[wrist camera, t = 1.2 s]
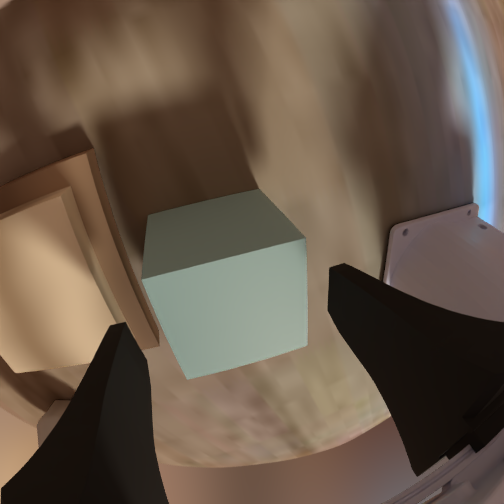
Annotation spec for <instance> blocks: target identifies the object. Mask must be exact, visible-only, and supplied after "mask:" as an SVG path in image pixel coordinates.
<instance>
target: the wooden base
mask: <svg viewBox="0 0 504 504" xmlns="http://www.w3.org/2000/svg"><path fill="white" fill-rule="evenodd" d="M122 322H126V323H127V325H128V327H129V329H130V331H131V333H132V335H133V336H134V338H135V340H136V342H137V344H138V345H139V347H140V349H141V350H144V349H149V348H153V347H158V346H159V330H158V328H157V326H156V323H155V321H154V319H153V317H152V315H151V312H150V310H149V308H148V305H147V303H146V301H145V299H144V296H143V294H142V291H141V289H140V287H139V284H138V282H137V279H136V277H135V274H134V272H133V269H132V267H131V264H130V261H129V259H128V256H127V253H126V251H125V248H124V245H123V243H122V240H121V237H120V234H119V231H118V228H117V225H116V222H115V219H114V216H113V213H112V210H111V207H110V204H109V201H108V198H107V194H106V191H105V188H104V184H103V181H102V177H101V174H100V170H99V167H98V163H97V159H96V155H95V151H94V148H92V149H89V150H86V151H83V152H80V153H78V154H75V155H72V156H69V157H67V158H64V159H62V160H59V161H56V162H54V163H51V164H49V165H47V166H44V167H42V168H39V169H37V170H35V171H32V172H30V173H28V174H26V175H23V176H21V177H19V178H17V179H15V180H13V181H11V182H8V183H6V184H4V185H2V186H0V355H1V356H2V358H3V359H4V360H5V361H6V363H7V364H8V365H9V366H10V367H11V369H12V370H13V371H14V372H15V373H22V372H31V371H39V370H47V369H54V368H61V367H68V366H74V365H80V364H87V363H91V361H92V359H93V357H94V355H95V353H96V351H97V349H98V347H99V345H100V343H101V341H102V339H103V337H104V335H105V333H106V331H107V330H108V328H109V326H110V325H113V324H118V323H122Z"/></svg>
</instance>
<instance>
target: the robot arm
mask: <svg viewBox="0 0 504 504" xmlns="http://www.w3.org/2000/svg"><path fill="white" fill-rule="evenodd" d="M478 211H479V206H478V205H477V204H476V203H472V204H468V205H465V206H461V207H458V208H454V209H451V210H447V211H443V212H440V213H436V214H433V215H429V216H425V217H422V218H418V219H414V220H411V221H407V222H403V223H400V224H396V225H394V226H393V227H392V229H391V231H390V237H389V245H388V252H387V259H386V266H385V273H384V279H383V282H382V281H380V280H378V279H376V278H374V277H372V276H370V275H368V274H366V273H364V272H362V271H360V270H358V269H356V268H354V267H352V266H350V265H347V264H345V263H343V264H339V265H336V266H333V267H330V268H329V291H328V312H329V314H330V316H331V318H332V320H333V322H334V324H335V325H336V327H337V329H338V331H339V333H340V334H341V335H342V337H343V338H344V340H345V341H346V343H347V344H348V345H349V347H350V348H351V350H352V351H353V352H354V354H355V355H356V357H357V358H358V359H359V361H360V362H361V364H362V365H363V366H364V368H365V369H366V371H367V372H368V373H369V375H370V376H371V378H372V380H373V381H374V383H375V384H376V386H377V388H378V390H379V392H380V394H381V396H382V397H383V399H384V401H385V403H386V405H387V407H388V409H389V411H390V414H391V416H392V418H393V420H394V422H395V424H396V427H397V429H398V431H399V434H400V436H401V438H402V441H403V444H404V446H405V449H406V452H407V455H408V458H409V461H410V464H411V467H412V470H413V471H414V473H415V474H416V476H420V475H421V474H423V473H424V472H426V471H427V470H428V469H430V468H431V467H433V466H434V465H436V464H437V463H439V462H440V461H441V460H443V459H444V458H445V457H447V458H448V459H449V461H448V462H446V463H445V464H444V465H442V466H441V467H439V468H438V469H437V470H435V471H434V472H432V473H431V474H430V475H428V476H427V477H425V478H424V479H422V480H421V481H419V482H418V483H416V484H414V485H413V486H411V487H410V488H408V489H406V490H405V491H403V492H401V493H400V494H398V495H396V496H395V497H393V498H391V499H390V500H388V501H386V502H384V503H382V504H417V503H419V502H420V501H422V500H423V499H425V498H426V497H428V496H429V495H431V494H432V493H434V492H435V491H436V490H438V489H439V488H440V487H442V486H443V487H442V492H441V493H440V494H438V495H436V496H434V497H433V498H431V499H429V500H427V501H426V502H424V503H423V504H504V233H502V232H501V231H499V230H498V229H496V228H495V227H493V226H492V225H490V224H488V223H487V222H485V221H484V220H482V219H480V218H479V217H477V216H478ZM1 504H169V502H168V500H167V496H166V493H165V489H164V486H163V482H162V479H161V475H160V471H159V466H158V462H157V457H156V453H155V446H154V437H153V422H152V402H151V384H150V377H149V370H148V364H147V359H146V358H145V356H144V354H143V352H142V351H141V349H140V347H139V345H138V344H137V342H136V340H135V338H134V336H133V335H132V333H131V331H130V329H129V327H128V325H127V323H126V322H122V323H118V324H113V325H110V326H109V328H108V330H107V331H106V333H105V335H104V337H103V339H102V341H101V343H100V345H99V347H98V349H97V351H96V353H95V355H94V357H93V359H92V361H91V363H90V365H89V367H88V369H87V371H86V373H85V375H84V377H83V379H82V381H81V383H80V385H79V386H78V388H77V390H76V392H75V394H74V396H73V398H72V399H71V401H70V403H69V405H68V406H67V408H66V410H65V411H64V413H63V414H62V416H61V418H60V419H59V421H58V422H57V424H56V425H55V427H54V428H53V429H52V431H51V432H50V434H49V435H48V436H47V438H46V439H45V440H44V442H43V443H42V445H41V446H40V447H39V449H38V450H37V451H36V452H35V453H34V455H33V456H32V457H31V458H30V459H29V461H28V462H27V463H26V464H25V465H24V467H22V468H21V470H19V472H18V473H16V474H15V476H13V477H12V478H11V479H10V480H9V481H8V482H7V483H6V484H5V485H4V486H3V487H2V488H1Z"/></svg>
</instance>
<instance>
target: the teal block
mask: <svg viewBox="0 0 504 504" xmlns="http://www.w3.org/2000/svg"><path fill="white" fill-rule="evenodd" d="M141 280H142V282H143V285H144V287H145V290H146V292H147V295H148V297H149V299H150V302H151V304H152V306H153V309H154V311H155V313H156V316H157V318H158V320H159V322H160V325H161V327H162V329H163V331H164V333H165V336H166V338H167V340H168V342H169V344H170V346H171V348H172V350H173V352H174V354H175V357H176V359H177V361H178V363H179V365H180V367H181V369H182V371H183V372H184V374H185V376H186V378H187V380H188V379H192V378H197V377H201V376H205V375H209V374H213V373H217V372H221V371H225V370H229V369H232V368H236V367H240V366H243V365H247V364H250V363H254V362H257V361H261V360H264V359H267V358H271V357H274V356H277V355H280V354H283V353H286V352H290V351H293V350H296V349H299V348H302V347H305V346H307V334H308V307H307V253H306V237H305V236H304V235H303V234H302V233H301V232H300V231H299V230H298V229H297V228H296V227H295V226H294V225H293V223H292V222H291V221H290V220H289V219H288V218H287V217H286V216H285V215H284V214H283V213H282V212H281V211H280V210H279V209H278V208H277V207H276V206H275V205H274V204H273V202H272V201H271V200H270V199H269V198H268V197H267V196H266V195H265V194H264V193H263V192H262V191H261V190H260V189H256V190H251V191H246V192H242V193H237V194H232V195H228V196H223V197H219V198H215V199H210V200H206V201H202V202H198V203H194V204H189V205H185V206H181V207H177V208H173V209H169V210H166V211H162V212H158V213H154V214H150V215H148V219H147V227H146V236H145V245H144V255H143V267H142V279H141Z"/></svg>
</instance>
